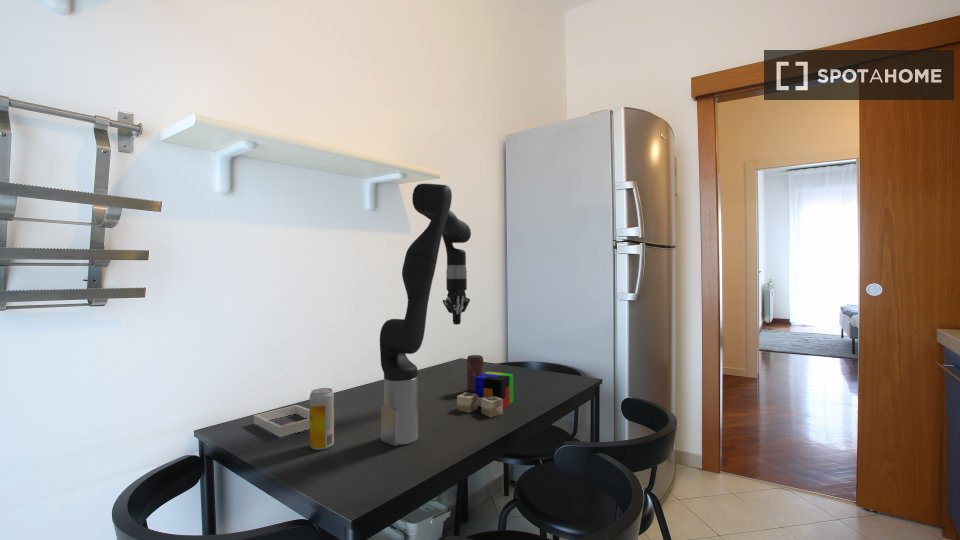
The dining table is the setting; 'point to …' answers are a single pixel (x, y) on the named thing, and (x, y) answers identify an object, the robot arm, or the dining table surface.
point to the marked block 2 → (492, 406)
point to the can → (473, 371)
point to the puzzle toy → (495, 386)
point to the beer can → (321, 418)
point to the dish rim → (285, 429)
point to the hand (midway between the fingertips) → (456, 324)
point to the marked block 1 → (467, 402)
